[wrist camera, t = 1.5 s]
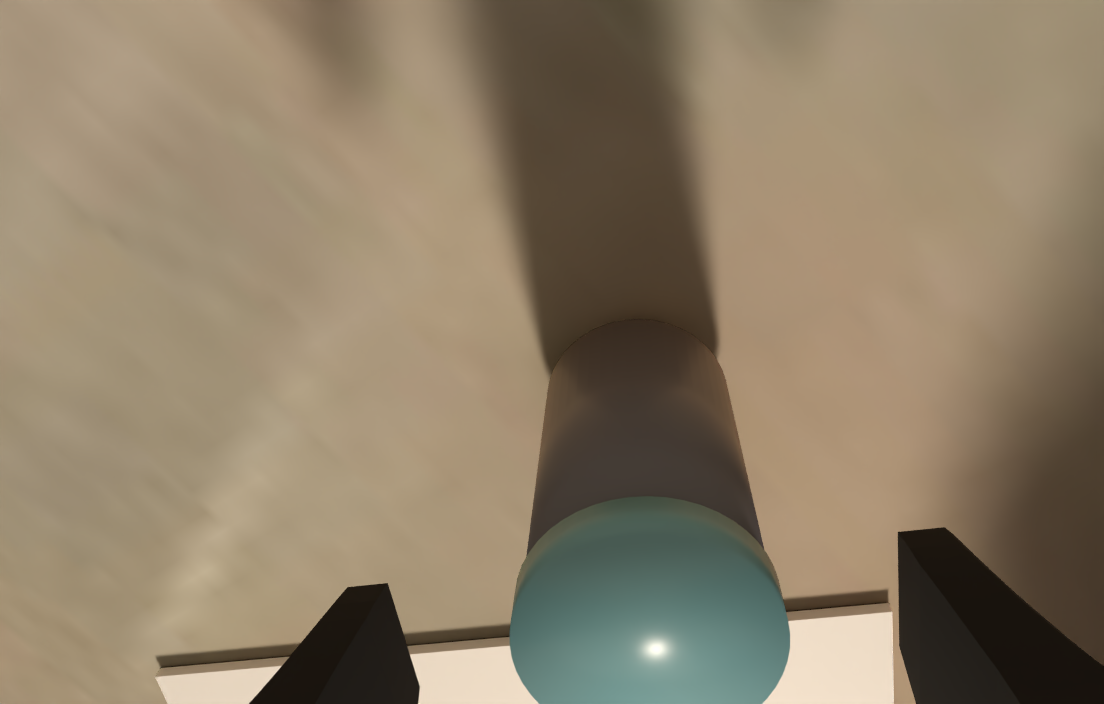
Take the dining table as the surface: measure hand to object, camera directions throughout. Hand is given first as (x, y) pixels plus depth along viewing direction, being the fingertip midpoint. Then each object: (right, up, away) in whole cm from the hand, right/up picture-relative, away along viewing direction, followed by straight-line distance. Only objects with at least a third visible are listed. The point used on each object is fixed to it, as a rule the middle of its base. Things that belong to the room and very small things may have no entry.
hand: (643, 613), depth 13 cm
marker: (0, +3, +6) cm, 7 cm away
